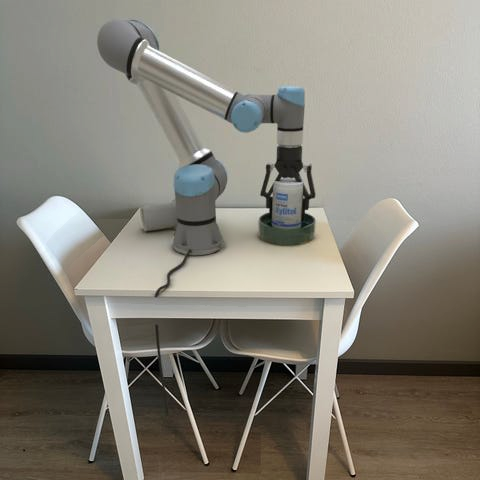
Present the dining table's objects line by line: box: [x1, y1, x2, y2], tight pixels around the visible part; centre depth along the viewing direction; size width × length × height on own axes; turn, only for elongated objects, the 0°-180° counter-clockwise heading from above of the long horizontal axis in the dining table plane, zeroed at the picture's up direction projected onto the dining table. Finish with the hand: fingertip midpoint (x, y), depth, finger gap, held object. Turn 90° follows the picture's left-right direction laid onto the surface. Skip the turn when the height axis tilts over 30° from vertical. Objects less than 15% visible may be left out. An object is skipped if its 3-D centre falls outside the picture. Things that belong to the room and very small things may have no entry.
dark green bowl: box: [258, 212, 317, 246], centre depth 150 cm, size 18×18×6 cm
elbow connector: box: [139, 197, 178, 232], centre depth 160 cm, size 18×11×20 cm
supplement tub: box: [272, 177, 305, 229], centre depth 146 cm, size 10×10×15 cm
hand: (286, 218), depth 149 cm, fingers closed on supplement tub, 10 cm apart
